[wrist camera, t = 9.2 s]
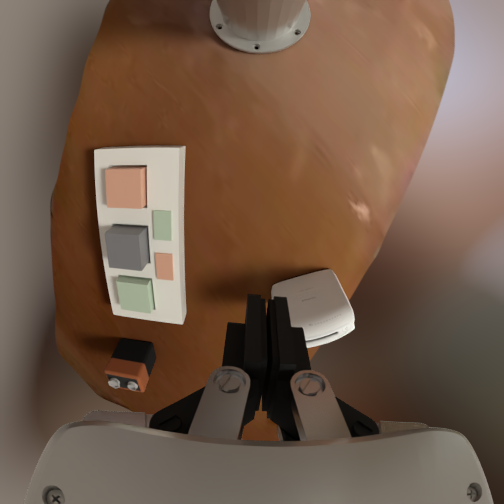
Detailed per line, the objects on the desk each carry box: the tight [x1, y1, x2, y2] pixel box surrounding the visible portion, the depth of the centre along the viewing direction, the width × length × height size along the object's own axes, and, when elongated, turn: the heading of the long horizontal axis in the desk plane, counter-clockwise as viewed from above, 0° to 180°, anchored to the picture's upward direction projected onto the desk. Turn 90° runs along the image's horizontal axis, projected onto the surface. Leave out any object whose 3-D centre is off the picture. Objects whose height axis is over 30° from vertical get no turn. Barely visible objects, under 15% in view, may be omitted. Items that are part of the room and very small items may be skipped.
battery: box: [105, 339, 156, 392], centre depth 45 cm, size 4×7×10 cm, turn 88°
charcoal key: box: [105, 225, 149, 271], centre depth 36 cm, size 5×5×3 cm
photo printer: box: [271, 269, 355, 348], centre depth 37 cm, size 10×4×12 cm, turn 107°
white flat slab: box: [94, 146, 186, 324], centre depth 39 cm, size 26×12×3 cm, turn 175°
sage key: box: [116, 275, 155, 314], centre depth 41 cm, size 5×5×3 cm
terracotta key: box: [105, 165, 147, 209], centre depth 34 cm, size 5×5×3 cm
